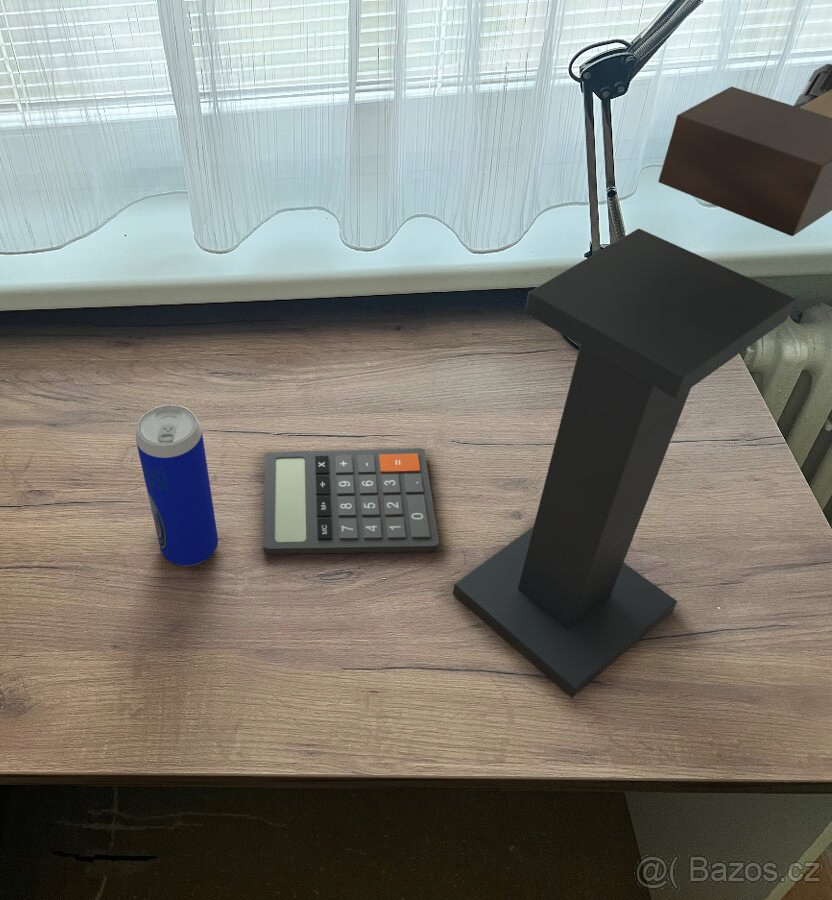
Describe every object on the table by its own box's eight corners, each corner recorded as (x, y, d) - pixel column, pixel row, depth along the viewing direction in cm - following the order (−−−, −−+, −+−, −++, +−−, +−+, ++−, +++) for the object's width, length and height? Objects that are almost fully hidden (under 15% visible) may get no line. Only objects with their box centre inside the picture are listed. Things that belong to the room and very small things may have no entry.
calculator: (439, 544, 74) (262, 547, 75) (438, 551, 75) (263, 553, 76) (424, 446, 82) (265, 450, 84) (423, 453, 83) (265, 457, 84)
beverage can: (163, 525, 80) (137, 403, 69) (219, 523, 79) (202, 400, 68) (158, 570, 76) (129, 449, 65) (217, 569, 75) (198, 447, 65)
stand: (672, 612, 69) (824, 299, 48) (571, 698, 65) (689, 396, 43) (550, 522, 76) (635, 215, 55) (452, 594, 72) (502, 291, 51)
